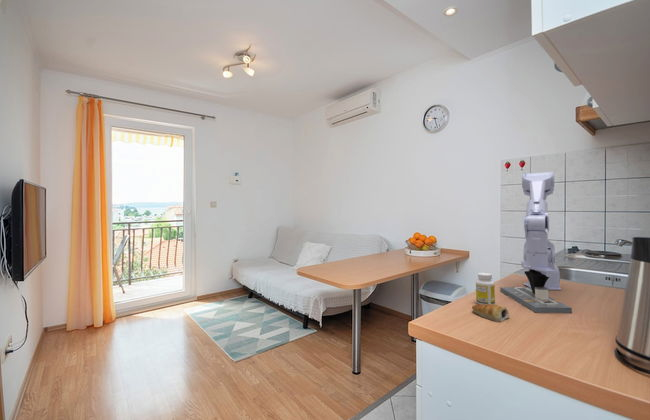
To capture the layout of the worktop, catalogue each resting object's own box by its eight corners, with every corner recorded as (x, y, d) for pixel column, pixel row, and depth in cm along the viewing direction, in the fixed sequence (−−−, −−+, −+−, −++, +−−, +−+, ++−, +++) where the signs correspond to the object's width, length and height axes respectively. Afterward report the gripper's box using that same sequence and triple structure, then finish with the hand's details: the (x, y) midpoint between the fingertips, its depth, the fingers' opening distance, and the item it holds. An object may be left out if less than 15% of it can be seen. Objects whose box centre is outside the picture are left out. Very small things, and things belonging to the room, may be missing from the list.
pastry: (467, 314, 90) (467, 301, 90) (479, 309, 94) (479, 297, 94) (500, 323, 83) (499, 310, 83) (511, 318, 86) (511, 305, 86)
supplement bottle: (490, 301, 101) (489, 272, 101) (498, 306, 96) (497, 275, 95) (473, 300, 102) (473, 272, 101) (480, 306, 96) (479, 275, 96)
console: (529, 291, 110) (529, 285, 110) (571, 313, 88) (571, 305, 88) (500, 291, 111) (500, 285, 111) (535, 312, 90) (535, 304, 89)
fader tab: (544, 298, 96) (543, 286, 96) (550, 302, 93) (549, 289, 93) (533, 298, 96) (533, 286, 96) (539, 301, 93) (539, 289, 93)
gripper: (511, 248, 104) (512, 287, 105) (537, 256, 90) (537, 301, 90) (533, 248, 104) (534, 287, 104) (562, 255, 89) (562, 301, 89)
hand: (537, 294), depth 97 cm, fingers closed
